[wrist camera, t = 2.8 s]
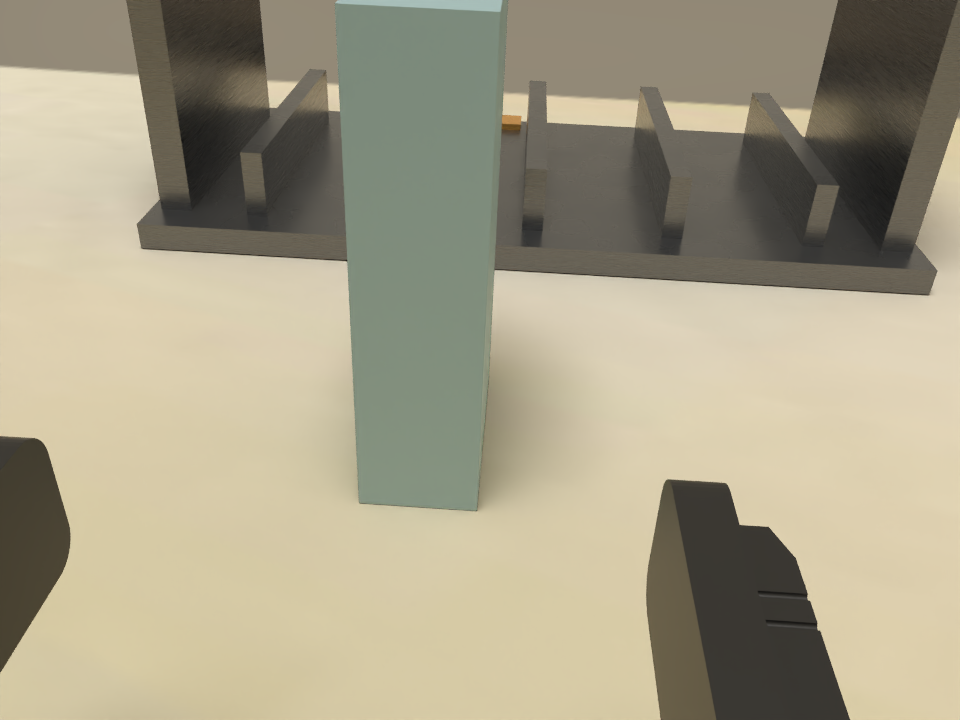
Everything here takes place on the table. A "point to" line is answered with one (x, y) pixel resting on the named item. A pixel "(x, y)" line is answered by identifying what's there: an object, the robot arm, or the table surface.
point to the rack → (580, 161)
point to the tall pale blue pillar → (420, 238)
